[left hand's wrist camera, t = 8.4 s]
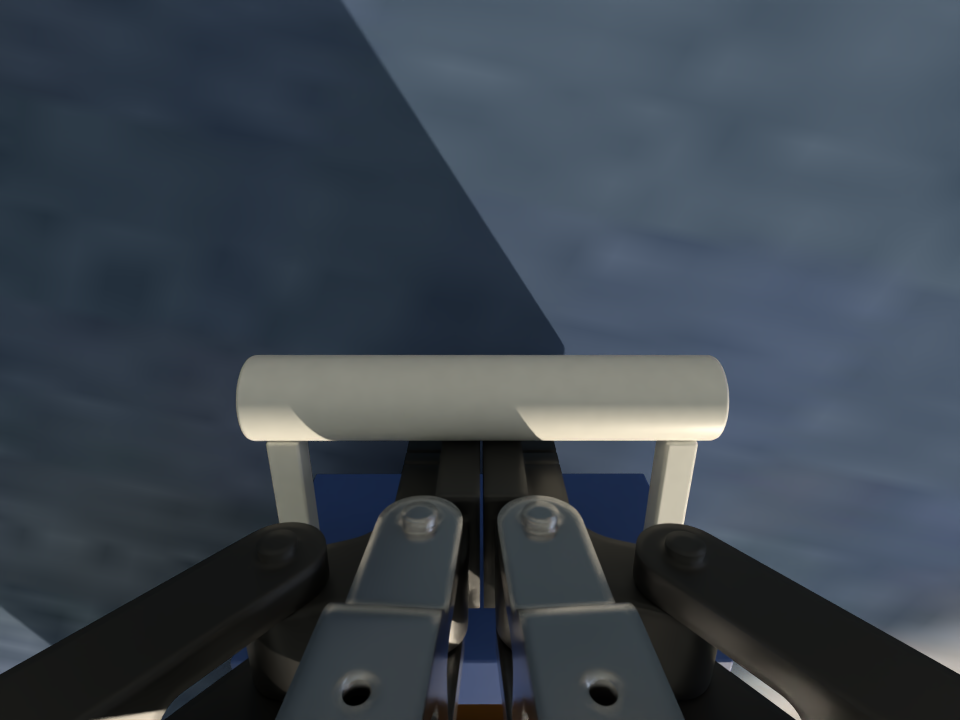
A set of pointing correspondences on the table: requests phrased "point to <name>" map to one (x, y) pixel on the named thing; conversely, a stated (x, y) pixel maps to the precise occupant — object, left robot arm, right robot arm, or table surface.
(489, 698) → the drawer
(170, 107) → the table surface
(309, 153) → the table surface
